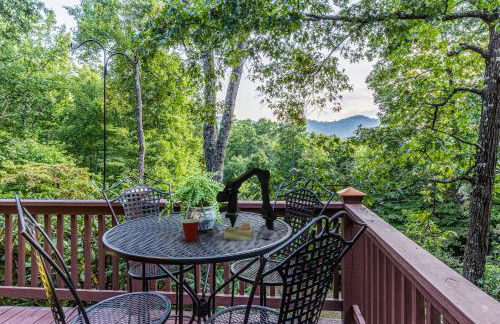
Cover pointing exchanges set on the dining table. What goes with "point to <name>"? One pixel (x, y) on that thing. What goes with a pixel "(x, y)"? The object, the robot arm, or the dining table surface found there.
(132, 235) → the dining table surface
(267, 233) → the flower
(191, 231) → the plastic cup
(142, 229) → the dining table surface
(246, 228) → the terracotta plug
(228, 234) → the press panel
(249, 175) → the robot arm
